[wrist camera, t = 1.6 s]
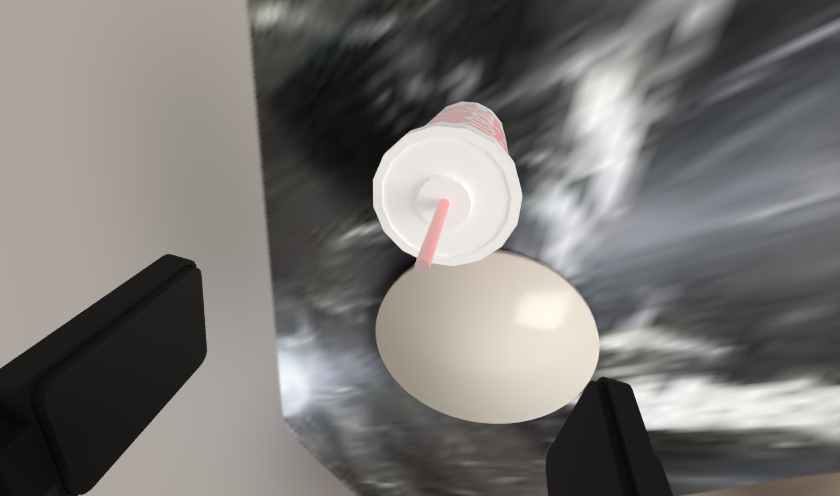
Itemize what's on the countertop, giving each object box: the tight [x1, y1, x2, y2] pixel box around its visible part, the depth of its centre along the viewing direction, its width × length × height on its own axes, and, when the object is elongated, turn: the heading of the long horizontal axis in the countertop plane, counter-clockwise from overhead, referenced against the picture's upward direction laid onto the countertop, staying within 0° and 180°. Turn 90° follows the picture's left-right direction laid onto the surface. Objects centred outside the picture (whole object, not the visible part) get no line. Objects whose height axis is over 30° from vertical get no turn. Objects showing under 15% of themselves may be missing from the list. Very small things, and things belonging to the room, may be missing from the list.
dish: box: [376, 249, 599, 424], centre depth 31 cm, size 16×16×1 cm
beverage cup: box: [373, 102, 522, 273], centre depth 19 cm, size 6×6×14 cm
